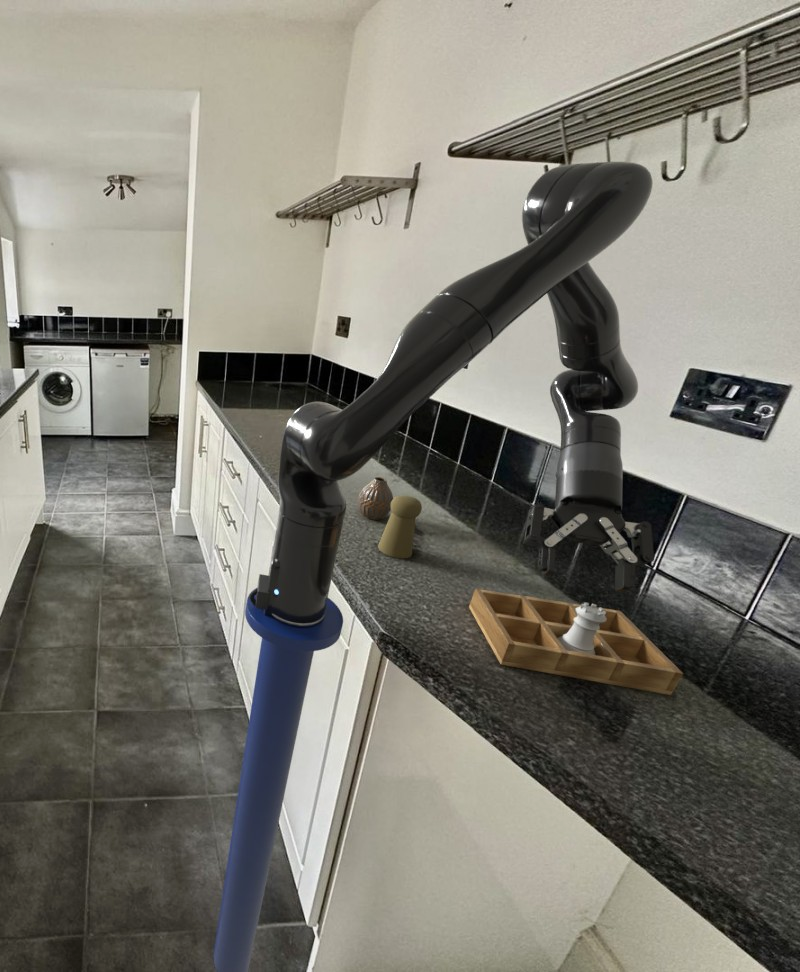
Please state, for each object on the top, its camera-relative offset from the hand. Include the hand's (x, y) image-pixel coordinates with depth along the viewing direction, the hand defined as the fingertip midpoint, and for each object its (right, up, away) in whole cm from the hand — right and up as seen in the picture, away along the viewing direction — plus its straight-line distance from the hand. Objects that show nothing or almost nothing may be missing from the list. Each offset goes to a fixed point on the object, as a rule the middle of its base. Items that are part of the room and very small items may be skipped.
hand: (584, 582), depth 71 cm
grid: (-2, -10, +2) cm, 10 cm away
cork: (-14, +1, +27) cm, 30 cm away
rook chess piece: (-3, -10, -1) cm, 11 cm away
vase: (-12, +7, +41) cm, 43 cm away
